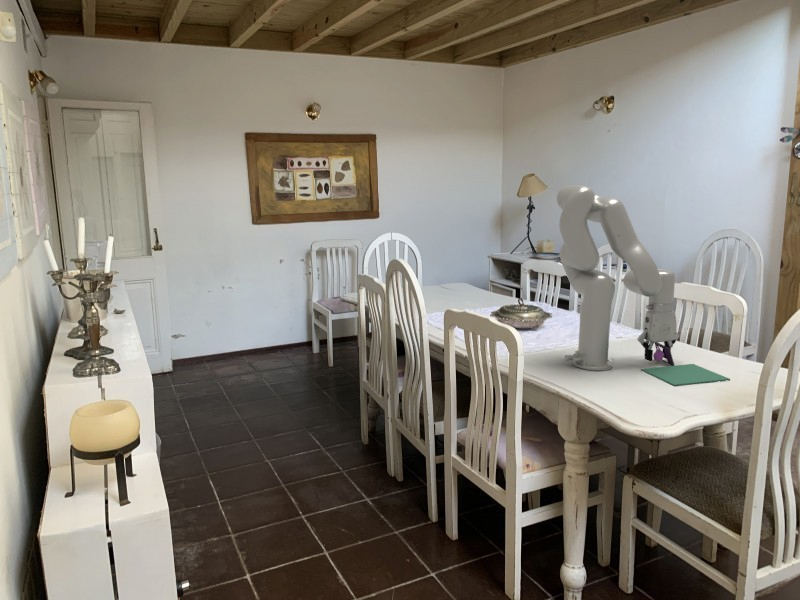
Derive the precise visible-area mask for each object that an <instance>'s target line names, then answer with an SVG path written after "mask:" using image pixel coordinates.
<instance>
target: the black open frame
mask: <svg viewBox="0 0 800 600" xmlns="http://www.w3.org/2000/svg"><path fill="white" fill-rule="evenodd" d="M654 347H655V352H653V357H652V358H653V360H654V361H655V363H654V364H655V365H657V364H658V362H659V363H660V362H661V361H662V362H664V363H665V364H667V365H668V366H675V365H676V364H675V362H674V358H673V355H672V350H671V351H670V348H668V347H666V346H665V345H664V344H661V342H656V343H654ZM663 347H664V351H665V354H666V358H667V359H666V358H665V359H666V360H664V358H663V357H664V353H663V350H661V348H662V349H663Z"/></svg>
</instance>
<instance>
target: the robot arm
mask: <svg viewBox="0 0 800 600" xmlns="http://www.w3.org/2000/svg"><path fill="white" fill-rule="evenodd" d="M556 202H557V205H558V207H559V208H560V209H561V210H562V211H561V214H560V218H559V231H560V235H561V238H562V241H563V244H562V245H561V248H560V250H559V258H560V259H559V260H560V261H561V265H562V267H563V269H564V272H565V275H566V276H567V279H568V282H569V283H570V285H571V288H572V289H573V291H575V292H576V293H577V294H578V295H580V296H583V299H582V302H581V306H580V311H579V327H578V328H579V331H578V347H577V349H578V350H575V351H574V353H572V354H565V355H564V360H565V362H567V361H569V362H570V361H572V365H573V366H575V367H576V368H579V369H582V370H587V371H606V370H611V368H613V362H612V361H611V360H609V347H610V328H611V316H612V315H611V313H612V306H613V305H612V304H613V301H614V296H615V291H616V285H615V281H614V279H613V278H612V277H611V276H610V275H609V274H608V273H606V272H603V271H601V270H597V269H595V268H596V267H598V265H599V263H600V253H599V251H598V248H597V246H596V243H595V241H594V239H593V236H592V233H591V231H590V229H589V228H590V227H589V224H588V221H591V222H593V223H594V222H595V223H598V224H600V225H601V227H602V230H603V232H604V234H605V237H606V239H607V241H608V243H609V246H610V249H611V250H612V251H613V252H614V253H615V255H616V256H618V257H619V258H620V259H621V260H623V262H625V264H627V266H628V268H630V270H629V271H628V272H627V273H625V275H624V277H623V279H622V280H623V285H624V287H625V288H626V289H627V290H629V291H630V292H633V293H635V294H639V295H641V296H642V297H643V296H644V297H648V304H646V305H645V309H646V313H645V316H644V321H643V326H642V327H643V328H642V333H641V334H640V335H639V336H638V337H637V338H636V340H637V341H638V342H639V344H641V346H642V348H644V360H646V361H648V362H652V361H653V358H654V357H653V355H654V351H653V346H654V345H655V343H656V342H657V343H663V345H664V346H666V347H668V348H670V351H671V352H672V348H673V347H674V345H675V343H676V341H677V340H678V339H679V338H680V333H678V332H677V317H676V312H675V310H674V298H675V284H676V282H675V281H676V274H675V272H674V271H672V270H669V269H658V266H657V263H656V262H655V261H654V258H653V257H652V255H651V254H650V253H649V251H648V250H647V248H645V246H644V245H643V243H642V242H641V241H640V239H639V238H638V236H637V233H636V231H635V229H634V226H633V224H632V221H631V219H630V216H629V215H628V212H627V210H626V206H625V205H624V203H623V202H622V201H621V199H618V198H615V197H610V196H609V197H608V196H607V197H606V196H600V195H597V194H595V191H594V190H593V189H592V188H591V187H590V186H587V185H583V184H577V185H576V184H569V185H565V186H563V187H561V189H559V191H558V192H557V194H556ZM662 351H663V353H664V357H663V359H666V360H667V358H666V354H665V351H664V347H663V348H662Z"/></svg>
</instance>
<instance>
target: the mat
mask: <svg viewBox="0 0 800 600" xmlns="http://www.w3.org/2000/svg"><path fill="white" fill-rule="evenodd" d="M674 365H675V366H671V365H667V366H657V367H647V368H646V367H645V368H640V371H641V372H643V373H645V374H648V375H650V376H652V377H654V378H655V379H658V380H660V381H662V382H663V383H664V382H665V383H667V384H669V385H670V386H673V387H682V386H690V385H691V386H692V385H701V384H710V382H711V383H719V382H718V381H720V382H727V381H726V380H729V381H731V378H729V377H727V376H724V375H722V374H719V373H717V372H714V371H711V370H709V369H707V368H705V367H702V366H700V365H697V364H695V363H688V364H679V365H678V364H674ZM700 383H701V384H700Z"/></svg>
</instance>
